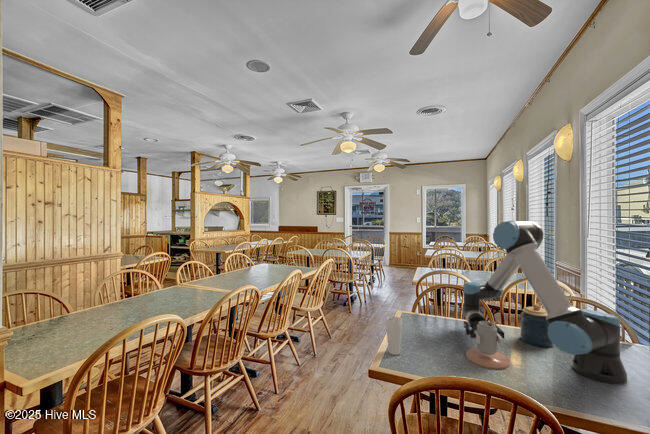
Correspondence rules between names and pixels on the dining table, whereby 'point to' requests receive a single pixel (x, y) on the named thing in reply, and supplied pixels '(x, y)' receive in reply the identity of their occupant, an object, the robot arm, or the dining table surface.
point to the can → (487, 337)
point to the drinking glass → (394, 334)
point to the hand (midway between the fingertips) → (490, 341)
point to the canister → (535, 326)
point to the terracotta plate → (488, 359)
